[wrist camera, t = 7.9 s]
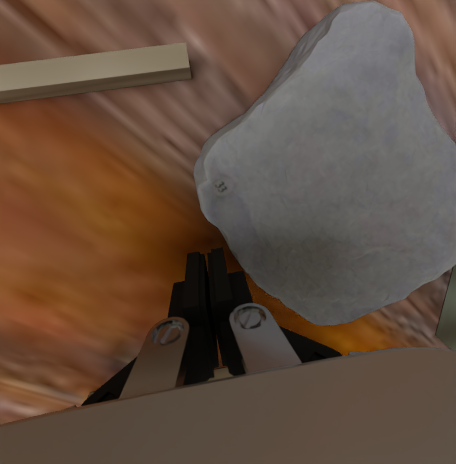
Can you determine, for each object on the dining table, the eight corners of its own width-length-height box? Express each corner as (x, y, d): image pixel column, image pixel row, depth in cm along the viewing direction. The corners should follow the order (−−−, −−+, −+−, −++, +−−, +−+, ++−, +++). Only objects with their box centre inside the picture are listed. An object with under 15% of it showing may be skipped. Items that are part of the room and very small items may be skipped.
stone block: (297, 291, 17) (447, 207, 14) (314, 353, 13) (536, 254, 10) (175, 163, 14) (337, 2, 10) (143, 191, 9) (401, -69, 6)
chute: (448, 333, 18) (494, 369, 15) (93, 399, 17) (71, 453, 14) (540, 15, 11) (658, -26, 8) (-68, 91, 10) (-178, 74, 7)
